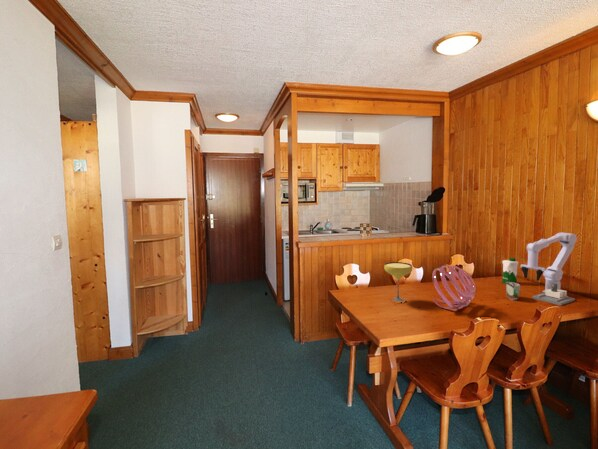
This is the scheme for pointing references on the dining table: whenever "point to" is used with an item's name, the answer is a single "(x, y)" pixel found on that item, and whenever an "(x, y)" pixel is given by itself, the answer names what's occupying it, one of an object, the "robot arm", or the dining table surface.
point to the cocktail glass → (398, 272)
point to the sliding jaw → (554, 292)
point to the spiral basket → (460, 301)
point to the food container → (512, 290)
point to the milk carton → (510, 270)
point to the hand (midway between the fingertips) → (531, 279)
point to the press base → (553, 299)
